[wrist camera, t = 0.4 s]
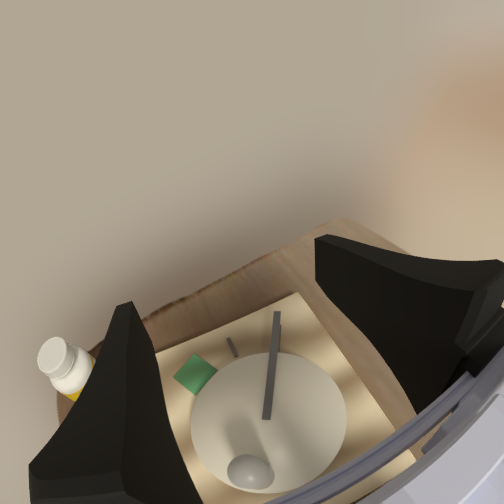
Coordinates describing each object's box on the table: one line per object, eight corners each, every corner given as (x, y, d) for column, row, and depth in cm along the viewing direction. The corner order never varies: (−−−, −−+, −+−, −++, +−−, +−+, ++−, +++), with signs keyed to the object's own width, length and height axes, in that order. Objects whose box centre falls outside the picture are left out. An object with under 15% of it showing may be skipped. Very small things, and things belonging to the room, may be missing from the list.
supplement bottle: (80, 398, 28) (25, 357, 22) (106, 367, 31) (57, 320, 25) (105, 426, 26) (45, 389, 19) (133, 391, 29) (81, 346, 22)
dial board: (411, 463, 18) (417, 460, 17) (220, 551, 15) (215, 554, 14) (298, 300, 34) (297, 290, 33) (153, 363, 31) (146, 355, 30)
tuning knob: (218, 318, 32) (200, 280, 28) (342, 316, 29) (346, 276, 25) (183, 480, 19) (148, 472, 15) (342, 494, 17) (351, 495, 12)
